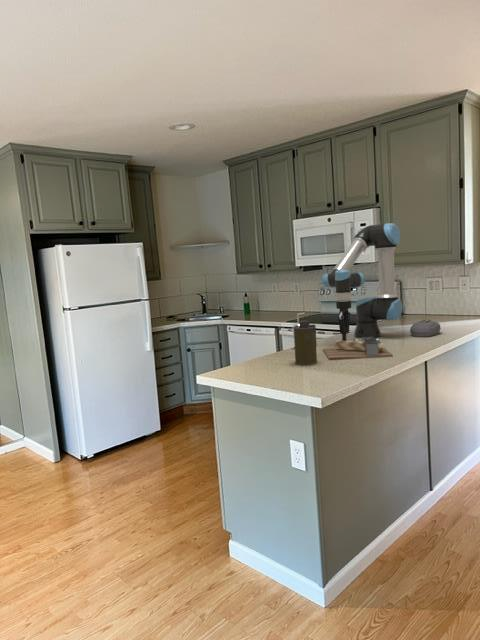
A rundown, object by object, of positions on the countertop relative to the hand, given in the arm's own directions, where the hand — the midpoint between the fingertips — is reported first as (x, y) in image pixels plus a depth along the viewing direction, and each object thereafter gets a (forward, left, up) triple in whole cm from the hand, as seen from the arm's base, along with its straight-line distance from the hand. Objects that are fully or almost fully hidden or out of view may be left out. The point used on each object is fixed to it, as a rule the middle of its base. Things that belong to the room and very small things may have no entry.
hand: (345, 346), depth 248 cm
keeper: (+14, +10, -2) cm, 17 cm away
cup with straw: (-15, -22, -3) cm, 27 cm away
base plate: (+8, +4, -3) cm, 9 cm away
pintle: (+12, +14, +3) cm, 18 cm away
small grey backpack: (-34, +52, -3) cm, 62 cm away
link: (+6, +6, -1) cm, 9 cm away
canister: (+23, -22, -3) cm, 32 cm away
